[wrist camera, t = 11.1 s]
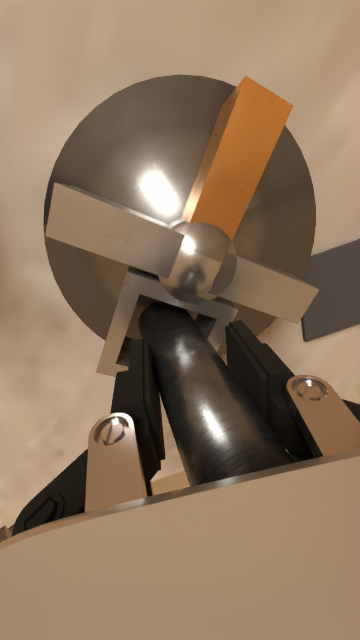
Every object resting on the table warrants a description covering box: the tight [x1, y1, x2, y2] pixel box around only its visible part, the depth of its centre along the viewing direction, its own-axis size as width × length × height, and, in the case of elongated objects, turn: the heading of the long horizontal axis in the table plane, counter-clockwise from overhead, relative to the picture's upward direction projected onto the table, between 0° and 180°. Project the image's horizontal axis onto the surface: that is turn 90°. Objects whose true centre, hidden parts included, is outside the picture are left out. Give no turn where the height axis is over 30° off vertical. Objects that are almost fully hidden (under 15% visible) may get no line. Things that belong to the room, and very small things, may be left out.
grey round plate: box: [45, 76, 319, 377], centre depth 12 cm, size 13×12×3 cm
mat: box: [301, 239, 360, 342], centre depth 19 cm, size 8×7×1 cm
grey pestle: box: [138, 300, 295, 487], centre depth 10 cm, size 3×3×10 cm
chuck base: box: [44, 75, 316, 355], centre depth 15 cm, size 15×15×3 cm
